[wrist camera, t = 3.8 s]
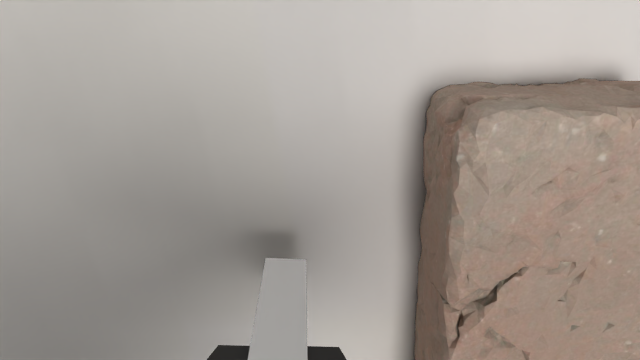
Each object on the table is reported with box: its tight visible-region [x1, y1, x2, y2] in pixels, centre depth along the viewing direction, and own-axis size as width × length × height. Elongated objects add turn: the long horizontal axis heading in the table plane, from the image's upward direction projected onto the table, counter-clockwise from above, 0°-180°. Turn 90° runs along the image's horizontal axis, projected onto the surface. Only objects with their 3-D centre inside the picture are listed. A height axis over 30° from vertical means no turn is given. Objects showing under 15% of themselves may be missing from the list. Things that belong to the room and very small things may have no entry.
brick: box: [414, 79, 640, 360], centre depth 14 cm, size 17×8×5 cm, turn 3°
